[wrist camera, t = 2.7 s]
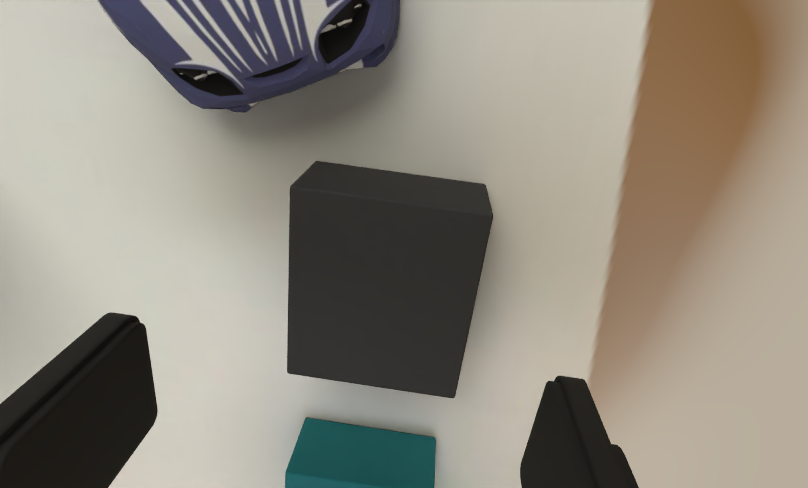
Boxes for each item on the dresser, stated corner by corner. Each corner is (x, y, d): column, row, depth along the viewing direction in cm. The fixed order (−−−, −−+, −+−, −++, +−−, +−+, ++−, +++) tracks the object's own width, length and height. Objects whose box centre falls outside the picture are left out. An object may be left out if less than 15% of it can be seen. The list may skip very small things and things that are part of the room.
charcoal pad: (486, 183, 16) (494, 214, 14) (453, 347, 19) (454, 399, 16) (315, 160, 16) (289, 185, 14) (309, 326, 19) (286, 374, 17)
